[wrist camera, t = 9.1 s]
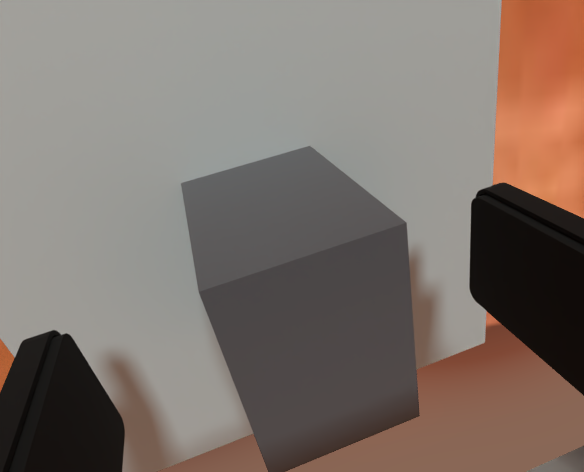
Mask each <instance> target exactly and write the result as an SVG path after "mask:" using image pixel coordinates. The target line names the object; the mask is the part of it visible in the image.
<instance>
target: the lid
mask: <svg viewBox="0 0 584 472" xmlns="http://www.w3.org/2000/svg"><path fill="white" fill-rule="evenodd" d="M501 1H502V0H0V338H1V340H2V341H3V342H4V344H5V345H6V346H7V348H8V349H9V350H10V352H11V353H12V354H13V356H14V357H15V356H16V354H17V351H18V349H19V347H20V344H21V343H22V341H23V340H25V339H27V338H31V337H34V336H37V335H40V334H43V333H46V332H49V331H52V330H57V331H58V332H59V333H60V334H61V335H62V334H65V333H67V334H69V335H71V337H72V338H73V340H74V341H75V343H76V344H77V346H78V348H79V349H80V351H81V352H82V354H83V356H84V357H85V359H86V360H87V362H88V364H89V365H90V367H91V368H92V370H93V372H94V373H95V375H96V376H97V378H98V380H99V381H100V383H101V385H102V386H103V388H104V389H105V391H106V393H107V394H108V396H109V397H110V399H111V401H112V402H113V404H114V405H115V407H116V409H117V410H118V412H119V413H120V415H121V417H122V420H123V423H124V428H125V439H124V453H123V466H122V472H158V471H160V470H163V469H165V468H168V467H170V466H173V465H175V464H178V463H180V462H183V461H186V460H188V459H190V458H193V457H196V456H198V455H201V454H203V453H205V452H208V451H211V450H213V449H216V448H219V447H221V446H223V445H226V444H229V443H231V442H234V441H236V440H238V439H241V438H244V437H246V436H249V435H252V434H254V436H255V438H256V441H257V443H258V446H259V449H260V451H261V454H262V456H263V459H264V462H265V464H266V467H267V469H268V472H285V471H288V470H290V469H292V468H295V467H297V466H300V465H302V464H305V463H307V462H309V461H312V460H314V459H316V458H319V457H321V456H324V455H326V454H329V453H331V452H334V451H336V450H338V449H341V448H343V447H346V446H348V445H351V444H353V443H355V442H358V441H360V440H363V439H365V438H367V437H370V436H372V435H374V434H377V433H380V432H382V431H384V430H387V429H389V428H392V427H394V426H396V425H399V424H401V423H404V422H406V421H409V420H411V419H413V418H416V417H418V416H419V402H418V387H417V371H416V369H419V368H422V367H424V366H427V365H429V364H432V363H434V362H437V361H439V360H441V359H444V358H447V357H449V356H452V355H455V354H457V353H459V352H462V351H465V350H467V349H470V348H472V347H475V346H477V345H480V344H482V343H484V342H485V327H486V310H485V309H484V308H483V307H482V306H480V305H479V304H478V303H477V302H476V301H475V300H474V299H473V297H472V295H471V293H470V289H469V277H470V232H471V203H472V200H473V199H474V198H476V194H477V192H478V191H479V190H481V189H484V188H487V187H490V186H492V184H493V164H494V144H495V123H496V103H497V83H498V62H499V42H500V21H501Z"/></svg>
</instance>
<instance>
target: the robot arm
mask: <svg viewBox="0 0 584 472" xmlns="http://www.w3.org/2000/svg"><path fill="white" fill-rule="evenodd" d="M469 289H470V293H471V295H472V297H473V299H474V300H475V301H476V302H477V303H478V304H479V305H480V306H482V307H483V308H484V309H485V310H486V311H487V312H488V313H490V314H491V315H492V316H493V317H494V318H495V319H496V320H498V321H499V322H500V323H501V324H502V325H503V326H505V327H506V328H507V329H508V330H509V331H510V332H511V333H513V334H514V335H515V336H516V337H517V338H519V339H520V340H521V341H522V342H523V343H524V344H525V345H526V346H528V347H529V348H530V349H531V350H532V351H533V352H534V353H536V354H537V355H538V356H539V357H540V358H541V359H543V360H544V361H545V362H546V363H547V364H548V365H549V366H551V367H552V368H553V369H554V370H555V371H556V372H557V373H559V374H560V375H561V376H562V377H563V378H564V379H565V380H567V381H568V382H569V383H570V384H571V385H572V386H574V387H575V388H576V389H577V390H578V391H579V392H581V393H582V394H583V395H584V219H583V218H581V217H579V216H577V215H575V214H573V213H570V212H568V211H566V210H564V209H562V208H559V207H557V206H555V205H553V204H551V203H549V202H546V201H544V200H542V199H540V198H538V197H535V196H533V195H531V194H529V193H527V192H525V191H522V190H520V189H518V188H516V187H514V186H511V185H509V184H507V183H499V184H496V185H493V186H490V187H487V188H484V189H481V190H479V191H478V192H477V194H476V198H474V199H473V200H472V203H471V232H470V277H469ZM124 439H125V428H124V423H123V420H122V417H121V415H120V413H119V412H118V410H117V409H116V407H115V405H114V404H113V402H112V401H111V399H110V397H109V396H108V394H107V393H106V391H105V389H104V388H103V386H102V385H101V383H100V381H99V380H98V378H97V376H96V375H95V373H94V372H93V370H92V368H91V367H90V365H89V364H88V362H87V360H86V359H85V357H84V356H83V354H82V352H81V351H80V349H79V348H78V346H77V344H76V343H75V341H74V340H73V338H72V337H71V335H69V334H67V333H65V334H62V335H61V334H60V333H59V332H58V331H57V330H52V331H49V332H46V333H43V334H40V335H37V336H34V337H31V338H27V339H25V340H23V341H22V343H21V344H20V347H19V349H18V351H17V354H16V356H15V359H14V361H13V363H12V366H11V368H10V371H9V373H8V375H7V378H6V380H5V383H4V385H3V388H2V390H1V392H0V472H122V466H123V453H124ZM527 472H584V446H582V447H580V448H578V449H575V450H573V451H571V452H569V453H567V454H564V455H562V456H560V457H558V458H555V459H553V460H551V461H549V462H547V463H544V464H542V465H540V466H538V467H536V468H534V469H531V470H529V471H527Z"/></svg>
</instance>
